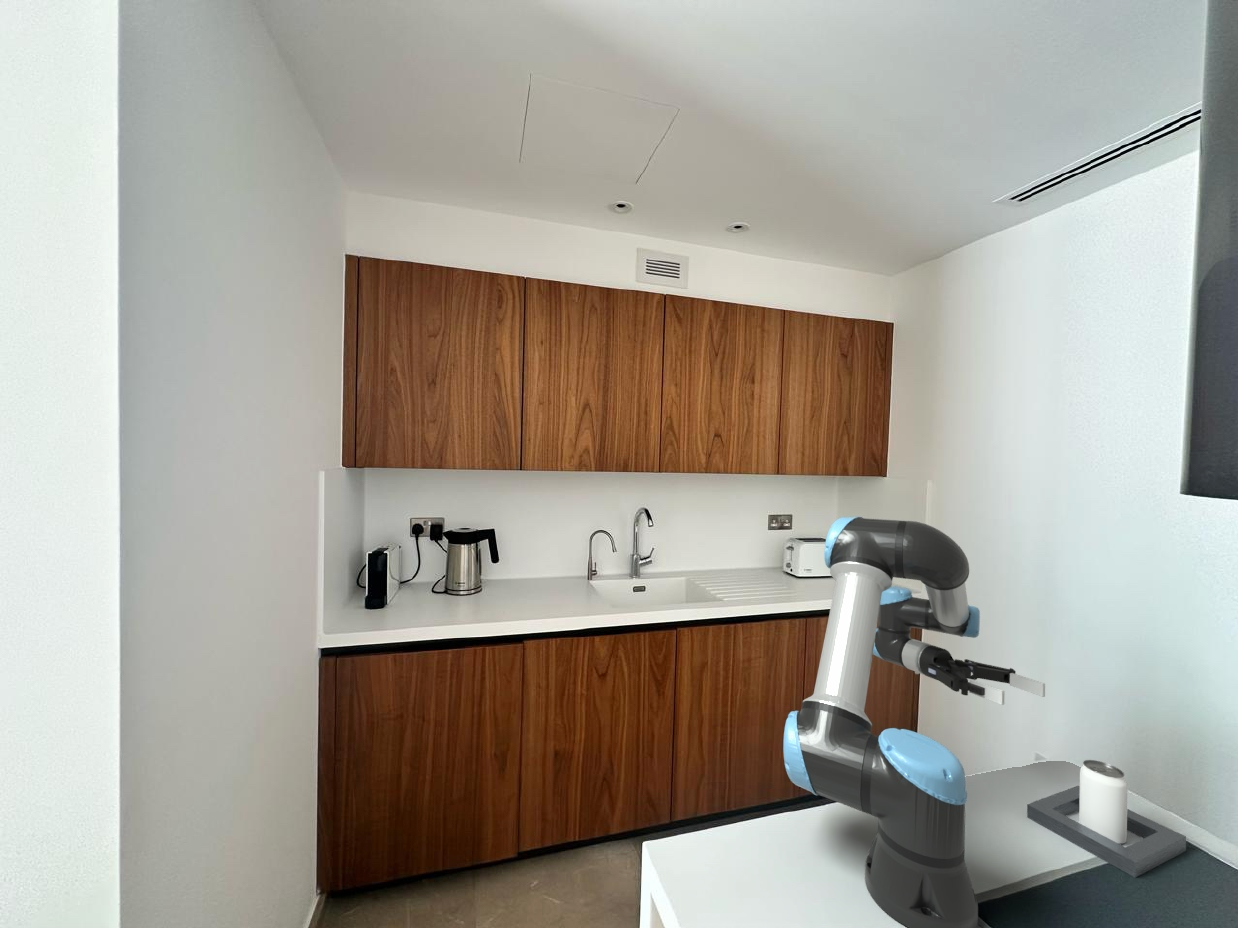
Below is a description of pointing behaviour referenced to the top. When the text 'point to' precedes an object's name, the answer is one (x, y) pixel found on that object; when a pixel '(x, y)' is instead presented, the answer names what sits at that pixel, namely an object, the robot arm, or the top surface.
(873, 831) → the top surface
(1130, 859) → the jig
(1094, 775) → the can
